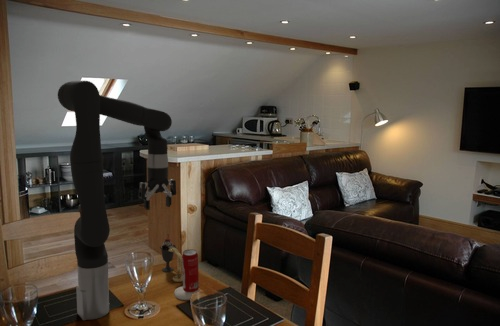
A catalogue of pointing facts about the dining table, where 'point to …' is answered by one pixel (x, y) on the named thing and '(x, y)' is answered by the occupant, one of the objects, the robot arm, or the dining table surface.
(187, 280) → the beverage can
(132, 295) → the dining table surface
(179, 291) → the saucer
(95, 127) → the robot arm
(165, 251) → the sundae
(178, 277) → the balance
